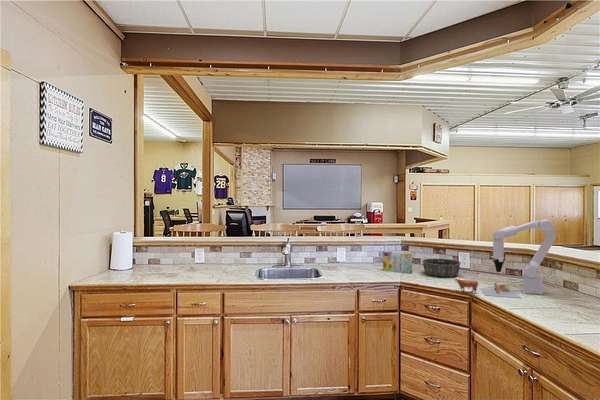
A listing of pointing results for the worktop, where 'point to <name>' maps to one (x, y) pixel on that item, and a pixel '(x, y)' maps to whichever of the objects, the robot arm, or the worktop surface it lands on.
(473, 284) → the bull figurine
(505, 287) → the fence fixed
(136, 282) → the worktop surface
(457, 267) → the dark grey woven basket
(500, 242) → the robot arm
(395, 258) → the snack box
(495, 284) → the fence hinged
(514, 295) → the card
